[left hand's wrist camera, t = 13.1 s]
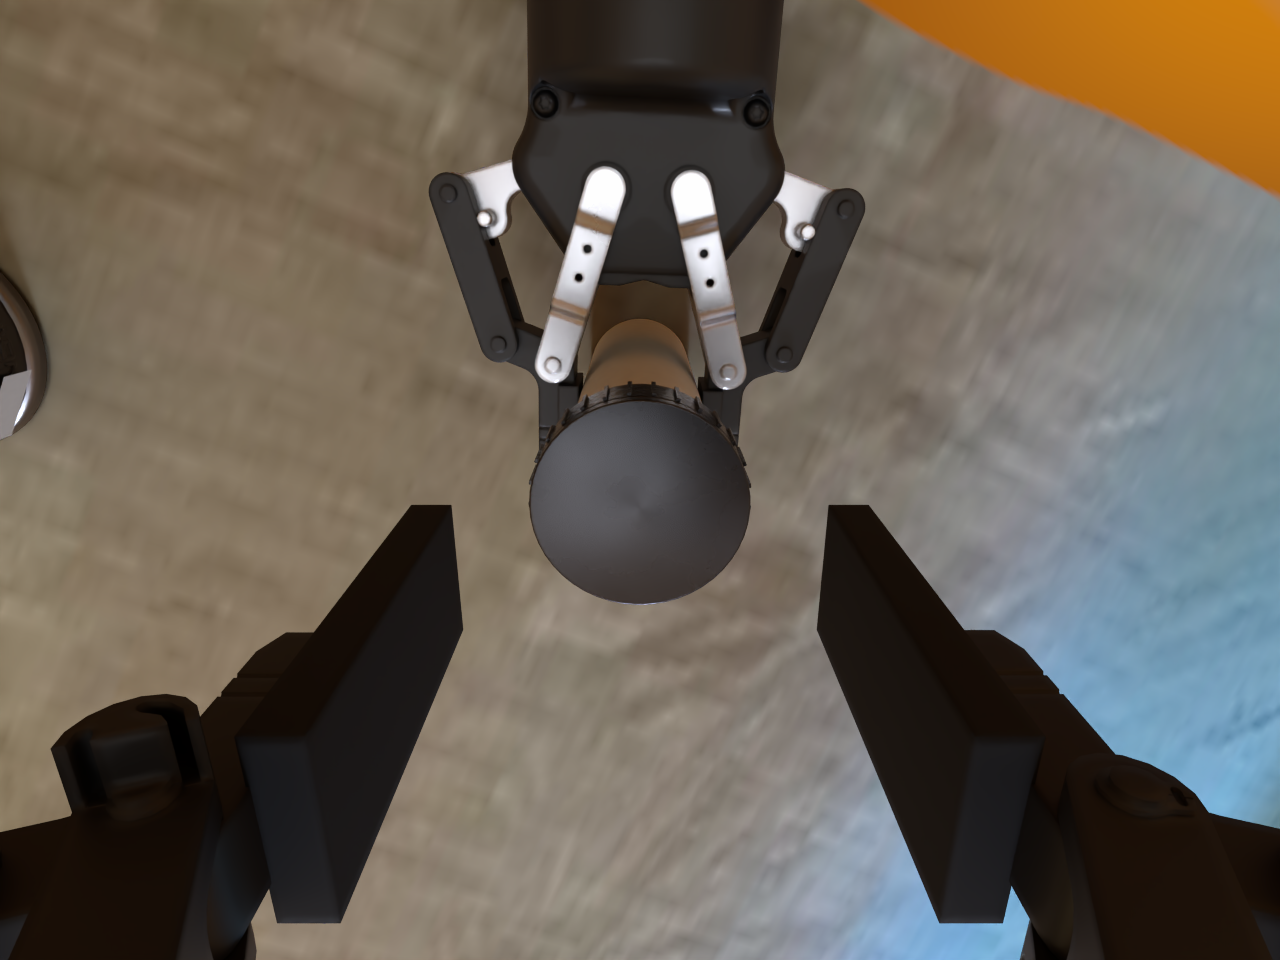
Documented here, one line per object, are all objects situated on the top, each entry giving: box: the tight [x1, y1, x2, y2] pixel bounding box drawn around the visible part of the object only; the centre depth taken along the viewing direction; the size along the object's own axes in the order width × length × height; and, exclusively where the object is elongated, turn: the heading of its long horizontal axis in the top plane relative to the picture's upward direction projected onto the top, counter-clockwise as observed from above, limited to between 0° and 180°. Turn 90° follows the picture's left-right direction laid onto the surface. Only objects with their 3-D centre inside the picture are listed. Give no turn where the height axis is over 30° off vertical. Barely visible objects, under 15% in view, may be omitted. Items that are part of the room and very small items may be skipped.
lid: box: [529, 381, 751, 605], centre depth 18 cm, size 5×5×2 cm
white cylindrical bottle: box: [578, 319, 702, 403], centre depth 25 cm, size 4×4×16 cm
